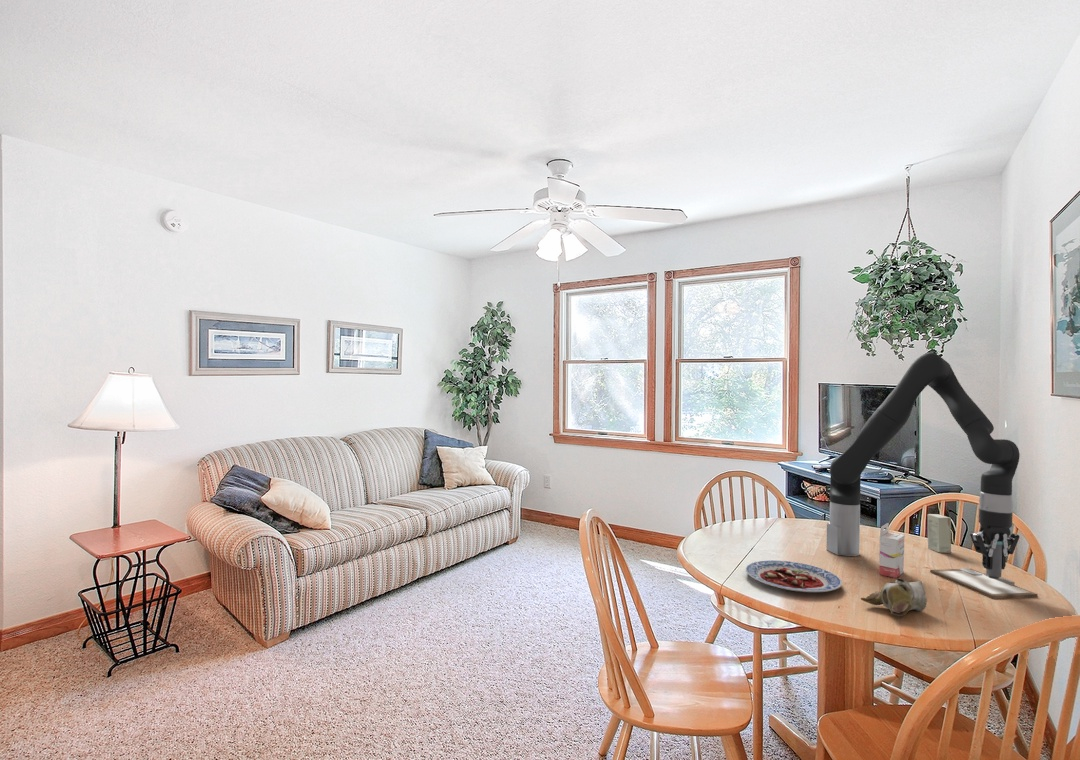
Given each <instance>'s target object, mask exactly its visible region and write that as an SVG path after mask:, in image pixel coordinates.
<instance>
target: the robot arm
mask: <svg viewBox="0 0 1080 760" xmlns="http://www.w3.org/2000/svg"><path fill="white" fill-rule="evenodd" d="M928 386H929V387H930V388H931V389H932V390H933V391H935V393H937V394H938V395H939V397H940V398H942V400H943V402H944V403H945V404H946V406H947V408H948V410H949V411H950V414H951V416H952V417H953V419H954V420H955V422H956V424H957V425H959V427H960V428H961V429H962V431H963V432H964V433H965V435H966V436H967V440H968V442H969V444H970V448H971V450H972V452H973V454H974V455H975V457H976V459H977V458H978V460H979V461H981V462H982V463H984V464H987V465H991V466H990V469H989V470H987V471H985V472H983V473H982V474H981V476H980V491H979V493H980V494H979V499H978V523H979V524H980V528H979V530H978V532H971V533H970V534H969V535H970V539H971V541H972V544H973V547H974V550H975V552H977V553H978V554H981V555H982V562H981V563H982V567H983V568H984V569H985V570H986V569H989V570H991V569H992V561H993V557H992V555H993V550H994V549H995V548H996V544H997V541H1002V542H1003V544H1002V570H1005V568H1006V564H1007V562H1006V561H1007V556H1009V555H1013V554H1014V552H1015V550H1016V547H1017V544H1018V542H1019V539H1020V535H1019V534H1017V533H1012V532H1011V530H1010V528H1012V527H1013V517H1014V515H1013V513H1014V512H1013V511H1014V510H1013V508H1014V507H1013V506H1014V501H1013V479H1014V476H1015V475H1016V471H1017V469H1018V465H1019V462H1020V457H1021V455H1020V450H1019V447H1018V445H1017V444H1016V443H1015V442H1013V441H1012V440H1009V439H1001V438H1000V439H999V438H998V439H995V438H993V437H992V435H991V434H992V433H993V432H994V428H995V427H994V425H993V423H992V421H991V420H990V419H989V418H988V417H987V415H986V414H985V413H984V412H983V411H982V409H981V408H980V407H979V406H978V405H977V404H976V403H975V401H974V400H973V399H972V398H971V397H970V396H969V395H968V393H967V392H966V391H965V389H964V388H963V387H962V385H961V383H960V382H959V380H958V378H957V376H956V374H955V372H954V370H953V369H952V366H951V365H950V363H949V362H948V361H946V359H944V358H943V357H942V356H940V355H939V354H937V353H934V352H927V353H923V354H921V355H919V356H917V357H916V358H915V360H914V361H913V362H912V363H911V364H910V366H909V367H908V368H907V371H906V372H905V373H904V374H903V376H902V378H901V379H900V381H899V382H898V383H897V385H896V386H895V387H894V388H893V390H892V391H890V393H889V394H888V396H887V397H886V398H885V399H884V401H883V402H882V403H881V404H880V405H879V406H878V407H877V408H876V410H875V411H874V412H873V413H872V415H870V417H869V418H868V419H867V420H866V422H865V423H864V425H863V427H862V428H861V430H860V431H859V433H858V434H857V436H856V438H855V440H854V441H853V443H852V444H851V445H849V447H848V448H846V450H845V451H844V452H843V453H842V454H841V455H839V456H836V457H835V458H834V459H833V460H832V462H831V464H830V465H829V466H830V467H829V472H830V483H829V484H830V486H829V487H830V488H829V522H827V523H826V550H827V551H828V552H829V553H830V552H831V553H832V554H834V555H836V556H845V557H846V556H847V557H857V556H859V555H860V543H861V541H860V537H861V535H860V534H861V533H860V532H861V530H860V529H861V527H860V525H861V524H860V523H861V477H862V476H861V474H862V473H863V472H864V470H865V469H866V468H867V466H868V464H869V463H870V462H871V460H872V459H873V458H874V457H875V455H876V454H878V453H879V452H880V451H881V450H882V449H884V448H885V446H886V445H887V444H888V443H890V442H891V441H892V440H893V438H894V437H895V436H896V435H897V434H898V433H899V432H900V431H901V429H902V428H903V427H904V426H905V425H906V424H907V422H908V420H909V418H910V416H911V413H912V410H913V409H914V405H915V403H916V401H917V399H918V396H920V394H921V392H923V391H924V390H925V388H926V387H928ZM987 543H989V544H991V545H988V544H987ZM987 547H988V551H987Z"/></svg>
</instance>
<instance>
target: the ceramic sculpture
mask: <svg viewBox="0 0 1080 760" xmlns="http://www.w3.org/2000/svg"><path fill="white" fill-rule="evenodd" d="M860 600H861V601H863V602H865V603H867V604H870V605H874V606H880V605H883V606H884V607H885V608H886V609H887V610H889V611H890V614H891V615H894V616H896V617H897V616H898V617H903V616H905V615H907V614H908V612H909V611H917V612H921V611H924V610H925V609H926V607H927V602H928V598H927V595H926V590H925V586H924V584H923V581H922V580H917V581H913V582H911V581H910V582H909V581H907V580H905V579H904V578H900V577H897V578H896V579H895V581H893V582H892V581H891V582H887V583H884V584H883V585H882V587H881V589H880V591H875V592H872V593H871V594H869V595H868V596H866V597H861V598H860Z"/></svg>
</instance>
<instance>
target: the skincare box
mask: <svg viewBox="0 0 1080 760" xmlns="http://www.w3.org/2000/svg"><path fill="white" fill-rule="evenodd" d="M951 520H952V518H951V517H949V516H945V515H942V514H937V513H934V514H933V513H928V514H927V548H928V549H929V550H932V551H934V552H937V553H945V554H946V553H947V554H949V553H950V554H951V553H952V521H951Z"/></svg>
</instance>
